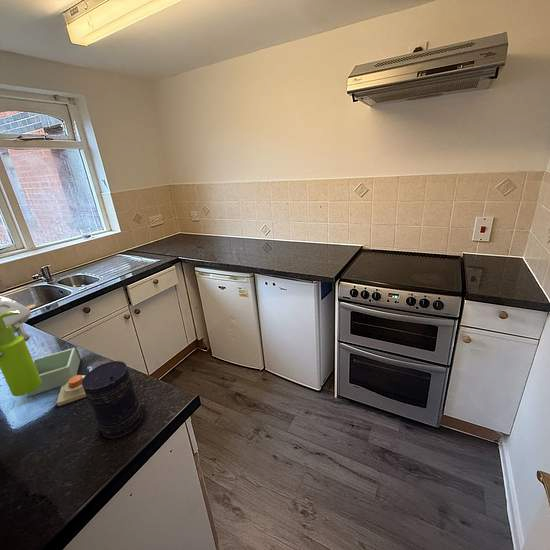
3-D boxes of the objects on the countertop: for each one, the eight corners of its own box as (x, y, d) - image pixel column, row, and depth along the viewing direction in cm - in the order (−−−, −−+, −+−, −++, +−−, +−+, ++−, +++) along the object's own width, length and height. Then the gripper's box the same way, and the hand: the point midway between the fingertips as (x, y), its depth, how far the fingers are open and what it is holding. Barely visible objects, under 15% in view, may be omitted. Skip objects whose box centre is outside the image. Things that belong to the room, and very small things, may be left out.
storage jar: (93, 428, 75) (72, 381, 69) (128, 401, 82) (112, 356, 77) (116, 444, 70) (95, 394, 64) (151, 414, 77) (135, 367, 72)
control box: (57, 406, 83) (53, 398, 82) (63, 389, 90) (59, 381, 89) (97, 392, 87) (94, 384, 86) (99, 376, 94) (96, 369, 93)
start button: (68, 389, 86) (66, 385, 85) (70, 382, 89) (68, 377, 88) (83, 385, 87) (81, 380, 86) (84, 377, 90) (82, 373, 89)
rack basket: (29, 396, 89) (21, 381, 87) (39, 373, 99) (32, 359, 97) (75, 381, 93) (68, 366, 91) (80, 361, 103) (74, 347, 101)
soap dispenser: (48, 384, 75) (19, 312, 68) (13, 400, 70) (-21, 324, 64) (44, 375, 79) (16, 306, 72) (11, 389, 74) (-22, 317, 68)
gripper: (-4, 302, 78) (44, 333, 81) (-101, 347, 59) (-35, 386, 62) (5, 285, 76) (53, 317, 79) (-93, 327, 57) (-26, 368, 60)
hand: (13, 348), depth 70 cm, fingers closed on soap dispenser, 6 cm apart
